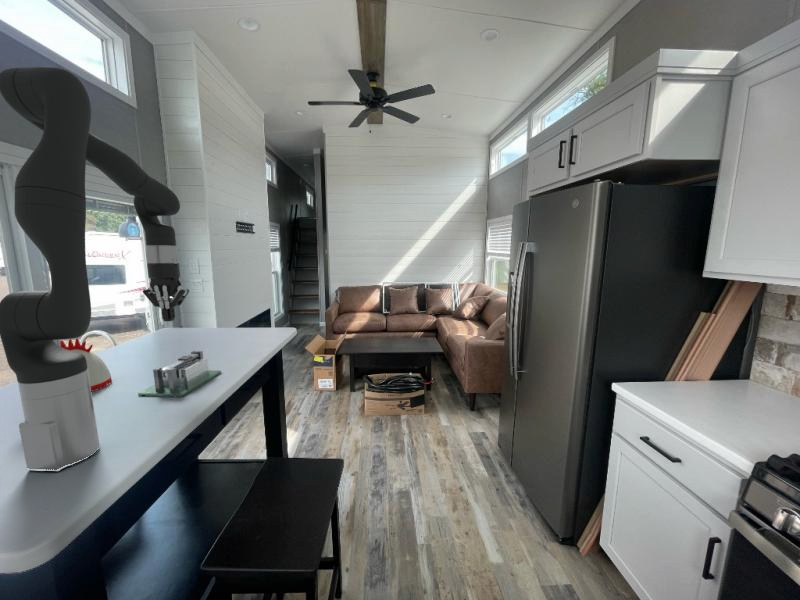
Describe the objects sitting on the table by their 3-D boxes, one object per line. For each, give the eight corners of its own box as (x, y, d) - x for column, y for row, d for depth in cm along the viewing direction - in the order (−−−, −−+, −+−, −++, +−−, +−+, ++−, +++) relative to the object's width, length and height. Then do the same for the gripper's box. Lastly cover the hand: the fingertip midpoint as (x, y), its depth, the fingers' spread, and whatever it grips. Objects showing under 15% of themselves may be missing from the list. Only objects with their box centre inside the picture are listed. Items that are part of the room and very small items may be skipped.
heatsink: (182, 396, 91) (179, 370, 90) (138, 395, 92) (134, 369, 91) (221, 372, 109) (219, 350, 108) (183, 372, 110) (181, 349, 109)
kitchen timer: (60, 383, 101) (52, 336, 99) (117, 375, 107) (111, 331, 105) (37, 401, 89) (27, 348, 87) (103, 391, 95) (95, 341, 93)
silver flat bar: (168, 373, 93) (167, 369, 92) (158, 373, 93) (158, 368, 93) (199, 356, 106) (198, 352, 105) (190, 356, 106) (190, 352, 106)
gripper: (130, 262, 91) (137, 323, 93) (175, 261, 90) (181, 323, 92) (152, 261, 98) (158, 318, 100) (194, 261, 97) (199, 318, 99)
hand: (169, 320), depth 96 cm, fingers closed
